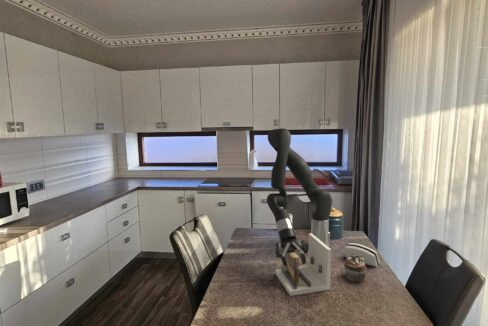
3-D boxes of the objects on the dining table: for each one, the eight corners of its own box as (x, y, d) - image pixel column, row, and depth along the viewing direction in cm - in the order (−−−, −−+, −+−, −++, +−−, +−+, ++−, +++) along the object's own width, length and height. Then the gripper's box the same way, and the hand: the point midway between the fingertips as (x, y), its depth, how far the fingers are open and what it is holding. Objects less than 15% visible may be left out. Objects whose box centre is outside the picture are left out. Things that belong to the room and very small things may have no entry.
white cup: (293, 228, 194) (293, 213, 192) (291, 232, 187) (291, 217, 185) (281, 227, 197) (281, 212, 195) (279, 231, 189) (279, 216, 188)
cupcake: (340, 278, 133) (341, 257, 131) (347, 269, 141) (348, 249, 139) (362, 285, 127) (364, 263, 126) (368, 275, 135) (370, 255, 133)
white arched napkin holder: (381, 263, 145) (379, 248, 142) (377, 270, 143) (375, 254, 139) (348, 253, 157) (346, 238, 153) (344, 259, 154) (342, 244, 150)
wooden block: (291, 269, 137) (291, 249, 136) (299, 279, 129) (299, 258, 127) (285, 270, 136) (285, 250, 135) (293, 280, 128) (293, 258, 126)
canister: (345, 233, 184) (346, 206, 182) (341, 241, 173) (342, 212, 170) (324, 230, 190) (324, 203, 188) (319, 237, 179) (319, 209, 176)
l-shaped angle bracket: (310, 268, 142) (311, 233, 139) (330, 289, 125) (331, 249, 122) (275, 273, 138) (275, 237, 135) (290, 296, 120) (290, 254, 118)
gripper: (273, 228, 134) (282, 264, 125) (302, 225, 137) (312, 260, 128) (269, 235, 140) (277, 269, 131) (297, 232, 143) (307, 265, 134)
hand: (295, 264), depth 129 cm, fingers open, 8 cm apart
